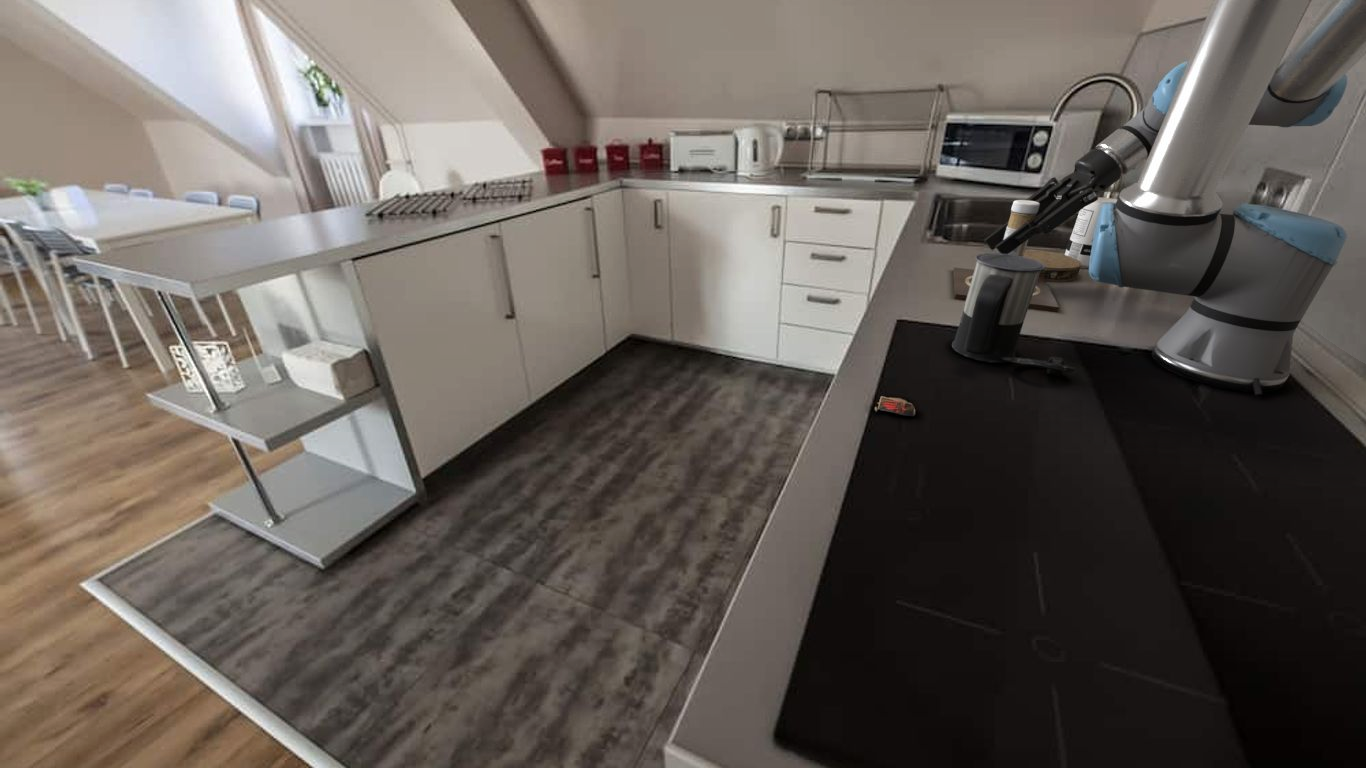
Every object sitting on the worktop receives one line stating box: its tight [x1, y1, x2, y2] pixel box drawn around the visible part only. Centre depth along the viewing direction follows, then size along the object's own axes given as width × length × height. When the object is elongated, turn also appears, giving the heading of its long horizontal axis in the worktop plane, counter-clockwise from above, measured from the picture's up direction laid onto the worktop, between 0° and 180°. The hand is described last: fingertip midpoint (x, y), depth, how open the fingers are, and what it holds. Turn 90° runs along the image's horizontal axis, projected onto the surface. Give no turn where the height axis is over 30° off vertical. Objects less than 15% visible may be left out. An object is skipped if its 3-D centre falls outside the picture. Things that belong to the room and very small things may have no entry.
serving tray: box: [952, 267, 1060, 313], centre depth 116 cm, size 20×18×1 cm
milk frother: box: [951, 252, 1076, 376], centre depth 83 cm, size 14×16×15 cm
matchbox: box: [874, 395, 916, 417], centre depth 73 cm, size 5×5×1 cm
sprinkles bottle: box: [1003, 199, 1040, 257], centre depth 111 cm, size 5×5×14 cm
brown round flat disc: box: [1023, 248, 1081, 283], centre depth 128 cm, size 16×16×3 cm
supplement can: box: [1064, 196, 1118, 269], centre depth 131 cm, size 8×8×15 cm
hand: (993, 248), depth 112 cm, fingers closed on sprinkles bottle, 4 cm apart
